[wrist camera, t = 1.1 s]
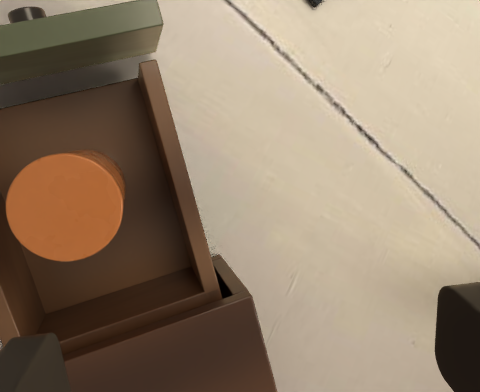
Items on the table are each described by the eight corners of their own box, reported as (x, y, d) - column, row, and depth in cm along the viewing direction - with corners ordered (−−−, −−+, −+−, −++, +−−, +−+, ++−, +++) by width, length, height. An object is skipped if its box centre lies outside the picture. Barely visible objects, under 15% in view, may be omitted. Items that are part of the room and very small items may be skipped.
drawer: (-78, 50, 21) (-153, 17, 15) (144, 8, 23) (148, -33, 18) (27, 327, 24) (-4, 383, 18) (214, 265, 26) (237, 298, 21)
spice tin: (31, 187, 22) (-22, 211, 14) (85, 133, 22) (62, 129, 15) (89, 236, 23) (69, 283, 15) (140, 185, 23) (145, 206, 16)
